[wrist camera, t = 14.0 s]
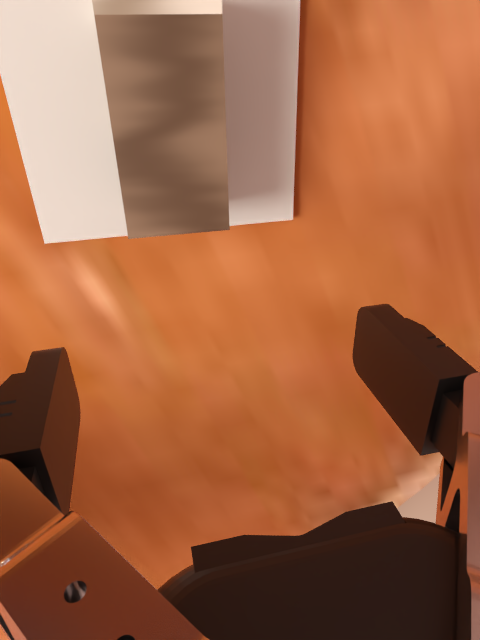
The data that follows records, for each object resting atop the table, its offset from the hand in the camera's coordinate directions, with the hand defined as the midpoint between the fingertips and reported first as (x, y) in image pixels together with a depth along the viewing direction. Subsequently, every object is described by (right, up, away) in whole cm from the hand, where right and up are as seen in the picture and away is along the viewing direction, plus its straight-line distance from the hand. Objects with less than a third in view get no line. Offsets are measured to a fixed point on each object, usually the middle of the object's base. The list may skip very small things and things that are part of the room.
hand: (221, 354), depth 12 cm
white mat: (-4, +12, +12) cm, 18 cm away
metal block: (-3, +6, +12) cm, 14 cm away
